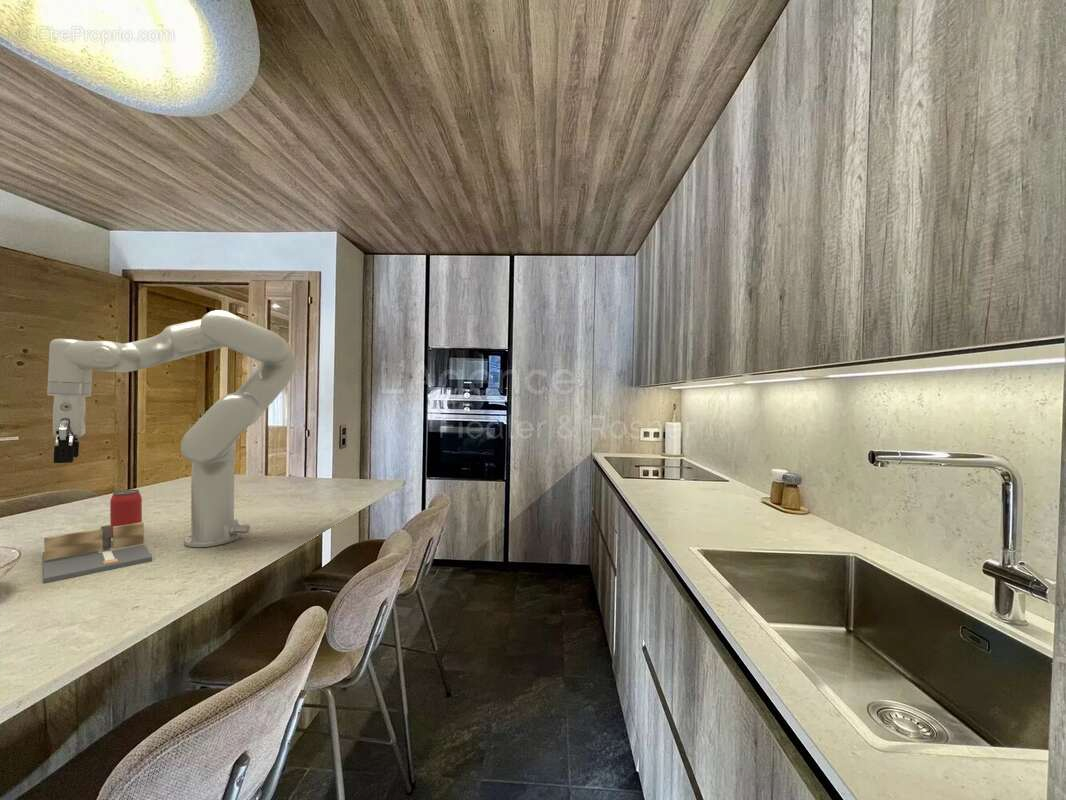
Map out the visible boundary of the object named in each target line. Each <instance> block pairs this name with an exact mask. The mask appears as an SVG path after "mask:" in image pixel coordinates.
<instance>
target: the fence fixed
mask: <svg viewBox="0 0 1066 800" xmlns="http://www.w3.org/2000/svg"><path fill="white" fill-rule="evenodd" d="M144 527H145V526H144V522H143V521H142V522H140V523H134V524H127V525H121V526H114V527H113V536H112V540H113V549H119V548H124V547H130V546H135V545H141V544H144V543H145V540H144V539H145V535H144V533H145V531H144V529H145V528H144ZM144 545H145V544H144Z"/></svg>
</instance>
